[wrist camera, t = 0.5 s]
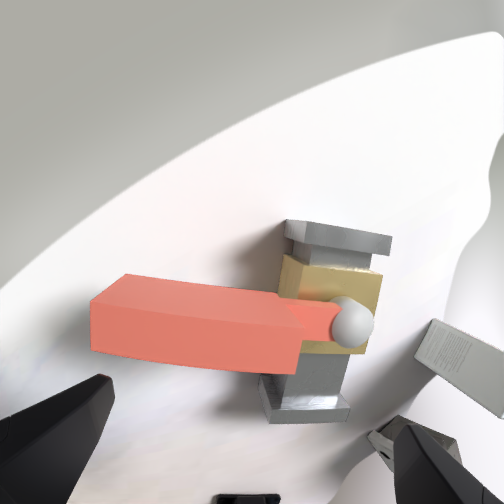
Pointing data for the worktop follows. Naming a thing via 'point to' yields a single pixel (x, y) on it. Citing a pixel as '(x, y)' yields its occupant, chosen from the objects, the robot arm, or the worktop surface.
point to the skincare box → (465, 364)
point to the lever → (218, 325)
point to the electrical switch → (390, 432)
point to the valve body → (322, 289)
